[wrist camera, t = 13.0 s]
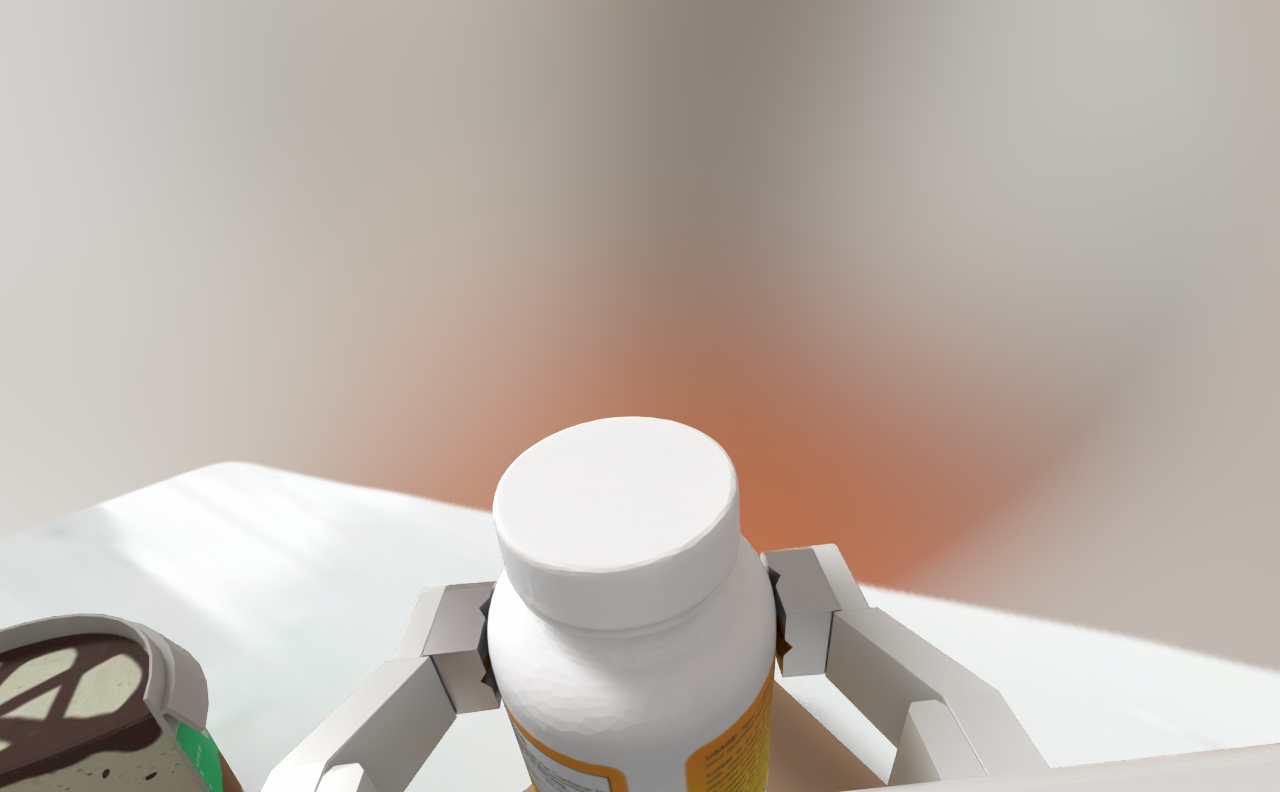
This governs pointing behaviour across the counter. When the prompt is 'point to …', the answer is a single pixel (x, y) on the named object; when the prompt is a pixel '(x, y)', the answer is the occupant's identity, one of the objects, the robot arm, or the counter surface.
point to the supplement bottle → (632, 614)
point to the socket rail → (808, 754)
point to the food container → (103, 710)
